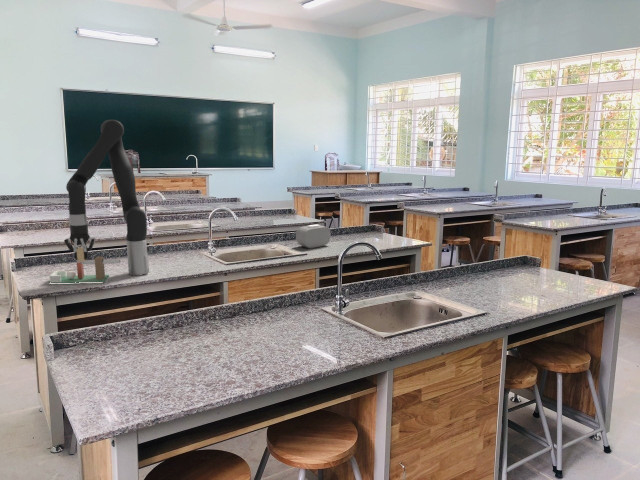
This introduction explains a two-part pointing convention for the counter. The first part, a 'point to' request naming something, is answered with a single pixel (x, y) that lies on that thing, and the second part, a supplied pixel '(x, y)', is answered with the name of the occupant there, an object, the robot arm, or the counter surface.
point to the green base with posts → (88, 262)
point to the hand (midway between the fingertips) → (81, 259)
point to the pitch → (99, 277)
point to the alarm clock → (313, 236)
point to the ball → (71, 274)
